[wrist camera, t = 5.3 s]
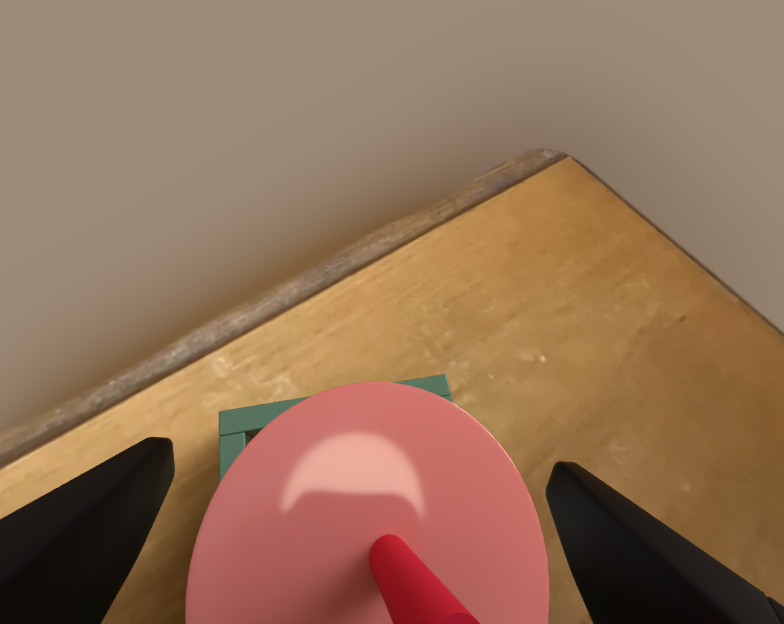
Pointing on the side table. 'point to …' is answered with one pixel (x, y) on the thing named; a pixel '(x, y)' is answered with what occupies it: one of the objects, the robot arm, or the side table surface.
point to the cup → (370, 520)
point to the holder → (249, 421)
